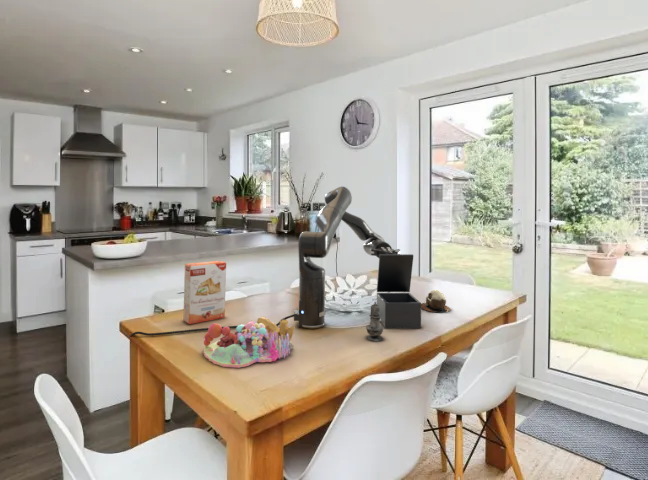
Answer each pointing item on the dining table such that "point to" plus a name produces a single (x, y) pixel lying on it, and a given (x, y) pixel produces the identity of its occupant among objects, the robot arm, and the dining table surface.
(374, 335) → the salt shaker
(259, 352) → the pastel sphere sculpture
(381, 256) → the lid
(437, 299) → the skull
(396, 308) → the dark grey box
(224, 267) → the cracker box
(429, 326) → the dining table surface
